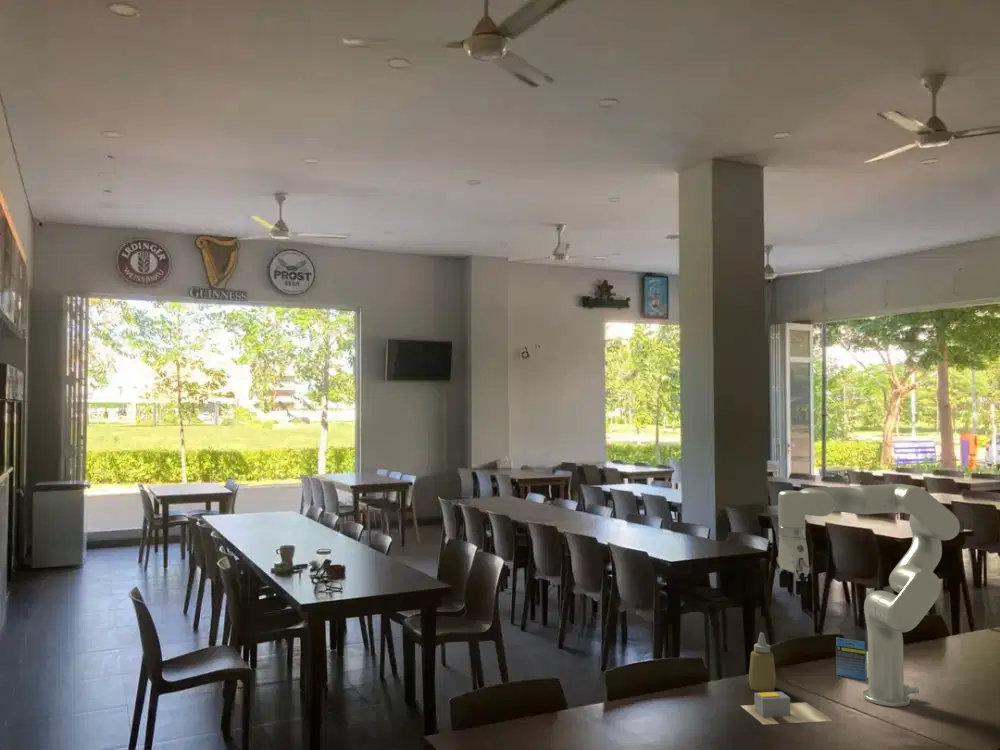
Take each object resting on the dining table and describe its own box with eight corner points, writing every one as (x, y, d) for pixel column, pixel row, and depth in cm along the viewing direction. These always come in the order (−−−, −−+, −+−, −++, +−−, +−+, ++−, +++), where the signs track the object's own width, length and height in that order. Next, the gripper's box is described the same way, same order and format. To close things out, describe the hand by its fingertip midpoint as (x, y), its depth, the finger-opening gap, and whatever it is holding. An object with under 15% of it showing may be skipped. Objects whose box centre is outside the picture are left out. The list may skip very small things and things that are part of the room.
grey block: (781, 709, 226) (781, 690, 226) (790, 716, 221) (790, 696, 222) (754, 711, 225) (754, 691, 225) (762, 717, 220) (762, 698, 220)
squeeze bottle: (778, 698, 239) (777, 637, 240) (750, 696, 241) (749, 635, 242) (774, 689, 247) (773, 630, 248) (747, 688, 249) (746, 628, 250)
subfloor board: (806, 707, 232) (806, 702, 232) (833, 726, 218) (833, 720, 218) (740, 711, 229) (740, 705, 229) (763, 730, 215) (763, 724, 215)
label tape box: (867, 677, 259) (867, 638, 260) (865, 681, 256) (865, 641, 256) (838, 672, 264) (837, 634, 264) (836, 676, 260) (835, 637, 261)
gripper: (819, 536, 231) (820, 597, 230) (789, 528, 248) (790, 584, 247) (794, 537, 230) (795, 597, 229) (766, 528, 247) (767, 585, 246)
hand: (792, 590), depth 238 cm, fingers open, 9 cm apart
